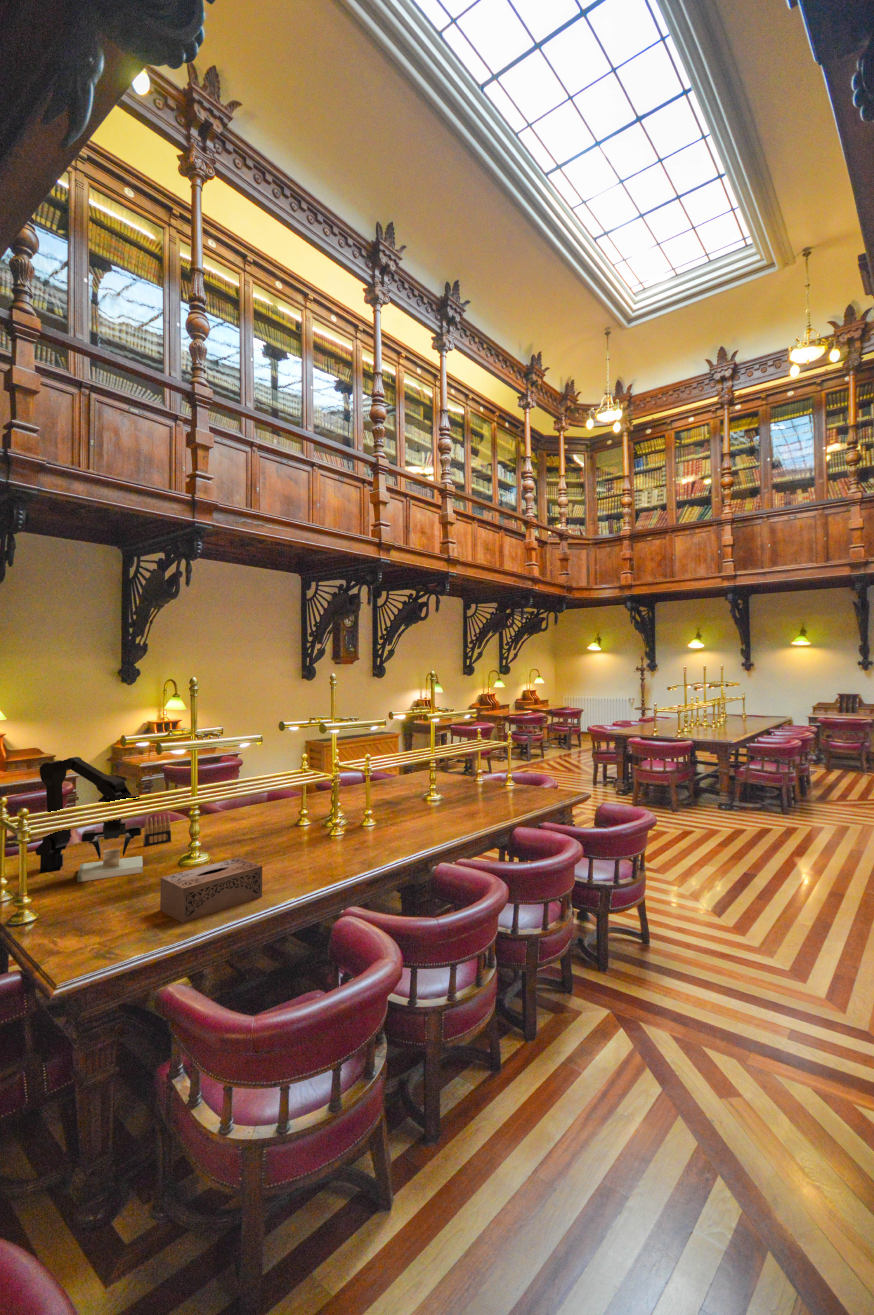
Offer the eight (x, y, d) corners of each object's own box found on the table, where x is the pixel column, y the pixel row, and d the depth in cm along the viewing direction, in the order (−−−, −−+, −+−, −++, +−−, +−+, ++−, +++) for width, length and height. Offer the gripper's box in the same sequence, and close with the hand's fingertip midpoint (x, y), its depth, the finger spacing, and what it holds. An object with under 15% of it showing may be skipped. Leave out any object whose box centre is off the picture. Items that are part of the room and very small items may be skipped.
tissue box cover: (237, 887, 191) (238, 857, 191) (262, 897, 182) (262, 866, 182) (160, 911, 171) (160, 877, 172) (182, 924, 162) (183, 888, 162)
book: (77, 882, 196) (77, 875, 196) (80, 871, 208) (80, 863, 208) (142, 873, 205) (142, 866, 206) (142, 862, 218) (142, 855, 218)
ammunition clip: (144, 847, 238) (145, 818, 239) (143, 846, 240) (143, 817, 240) (171, 842, 246) (171, 814, 246) (169, 841, 247) (170, 813, 248)
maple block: (103, 868, 204) (103, 854, 204) (103, 864, 208) (104, 850, 208) (119, 866, 206) (119, 852, 206) (119, 862, 210) (119, 848, 211)
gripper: (80, 821, 196) (79, 867, 196) (141, 815, 205) (140, 859, 204) (83, 815, 206) (82, 858, 206) (141, 809, 215) (140, 851, 214)
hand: (111, 857), depth 207 cm, fingers open, 7 cm apart
